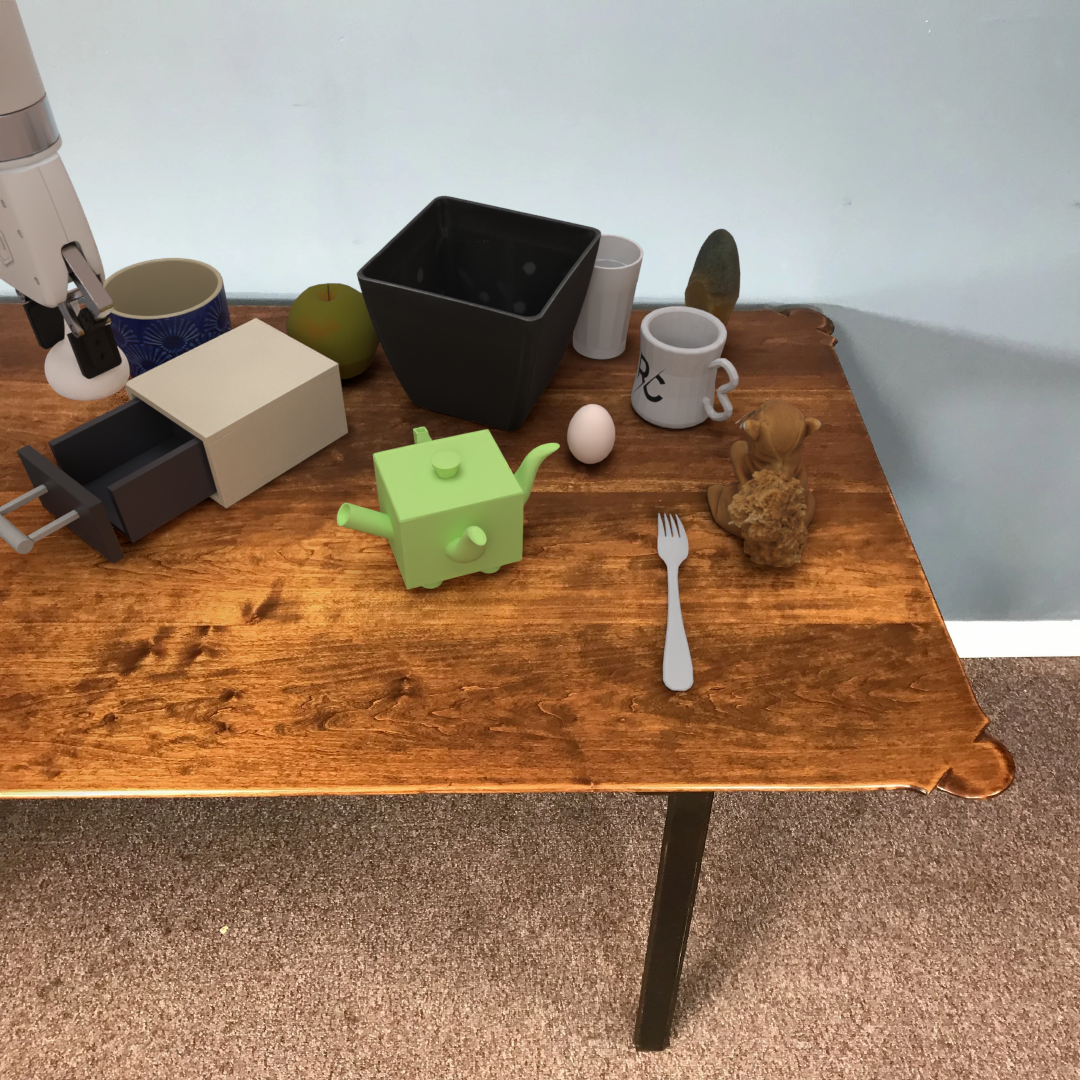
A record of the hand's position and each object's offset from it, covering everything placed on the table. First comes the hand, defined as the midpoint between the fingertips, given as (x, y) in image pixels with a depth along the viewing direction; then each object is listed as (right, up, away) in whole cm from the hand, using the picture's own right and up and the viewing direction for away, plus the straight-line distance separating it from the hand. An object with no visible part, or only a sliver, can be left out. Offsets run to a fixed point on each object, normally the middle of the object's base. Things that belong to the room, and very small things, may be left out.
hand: (80, 353), depth 74 cm
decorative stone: (+56, +7, +35) cm, 67 cm away
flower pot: (+31, +2, +28) cm, 42 cm away
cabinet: (+7, -5, +20) cm, 22 cm away
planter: (-3, +3, +29) cm, 29 cm away
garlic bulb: (0, -2, +2) cm, 3 cm away
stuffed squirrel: (+58, -15, +13) cm, 61 cm away
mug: (+53, -1, +26) cm, 59 cm away
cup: (+44, +8, +36) cm, 57 cm away
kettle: (+29, -17, +10) cm, 35 cm away
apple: (+14, +4, +30) cm, 34 cm away
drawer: (-2, -12, +11) cm, 17 cm away
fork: (+49, -20, +7) cm, 53 cm away
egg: (+42, -7, +20) cm, 47 cm away
